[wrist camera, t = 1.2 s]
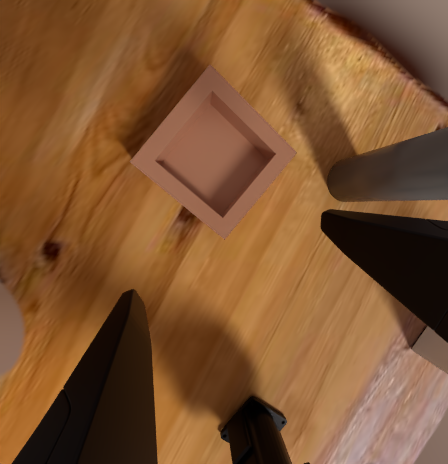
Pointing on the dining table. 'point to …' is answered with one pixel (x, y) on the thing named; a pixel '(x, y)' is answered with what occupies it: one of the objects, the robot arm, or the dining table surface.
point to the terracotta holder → (214, 153)
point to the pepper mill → (395, 172)
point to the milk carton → (433, 349)
